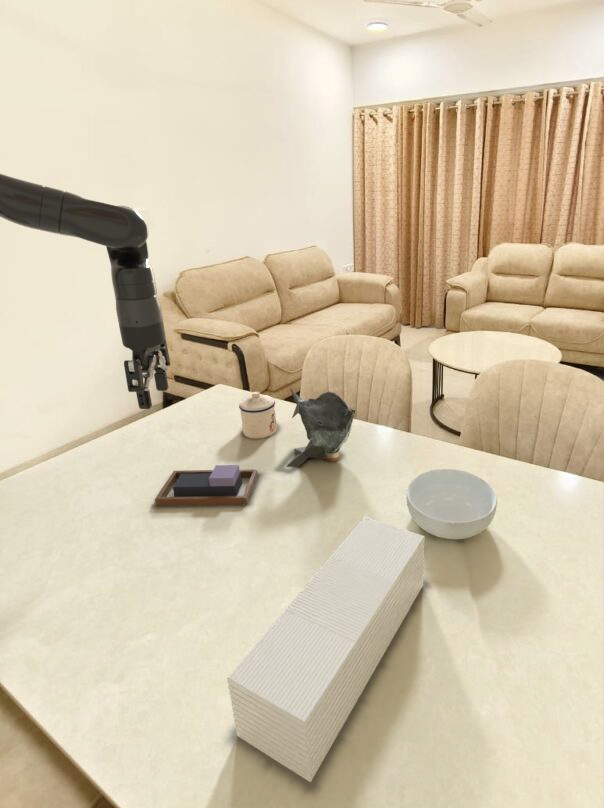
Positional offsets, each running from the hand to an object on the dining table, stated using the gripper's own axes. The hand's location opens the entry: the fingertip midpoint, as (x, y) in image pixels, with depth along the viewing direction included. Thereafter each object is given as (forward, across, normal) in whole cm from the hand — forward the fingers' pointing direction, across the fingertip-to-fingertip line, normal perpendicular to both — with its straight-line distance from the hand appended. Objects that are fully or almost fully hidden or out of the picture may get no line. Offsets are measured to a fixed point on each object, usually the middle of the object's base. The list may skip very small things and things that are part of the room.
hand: (154, 398), depth 99 cm
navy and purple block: (+22, 0, -8) cm, 23 cm away
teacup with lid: (+23, +28, -14) cm, 38 cm away
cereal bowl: (+22, -12, -58) cm, 63 cm away
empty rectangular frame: (+22, 0, -8) cm, 24 cm away
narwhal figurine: (+22, +12, -31) cm, 40 cm away
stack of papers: (+22, -39, -39) cm, 59 cm away
